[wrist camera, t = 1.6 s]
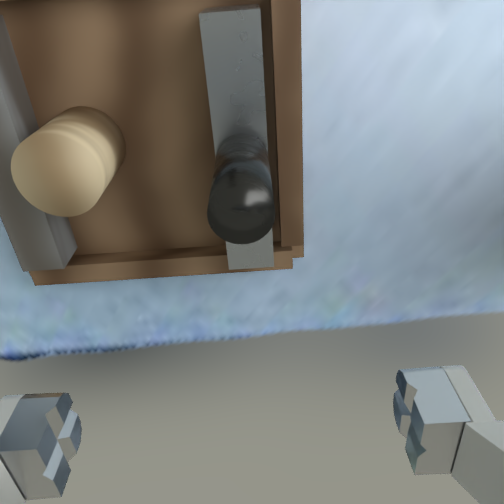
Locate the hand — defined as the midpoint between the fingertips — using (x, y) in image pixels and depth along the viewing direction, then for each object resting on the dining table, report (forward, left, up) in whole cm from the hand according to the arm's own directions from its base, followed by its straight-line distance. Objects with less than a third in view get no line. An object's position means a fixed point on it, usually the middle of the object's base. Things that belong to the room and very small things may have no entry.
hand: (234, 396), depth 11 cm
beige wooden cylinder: (+10, 0, -22) cm, 25 cm away
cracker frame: (+7, 0, -23) cm, 24 cm away
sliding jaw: (0, 0, -22) cm, 22 cm away
